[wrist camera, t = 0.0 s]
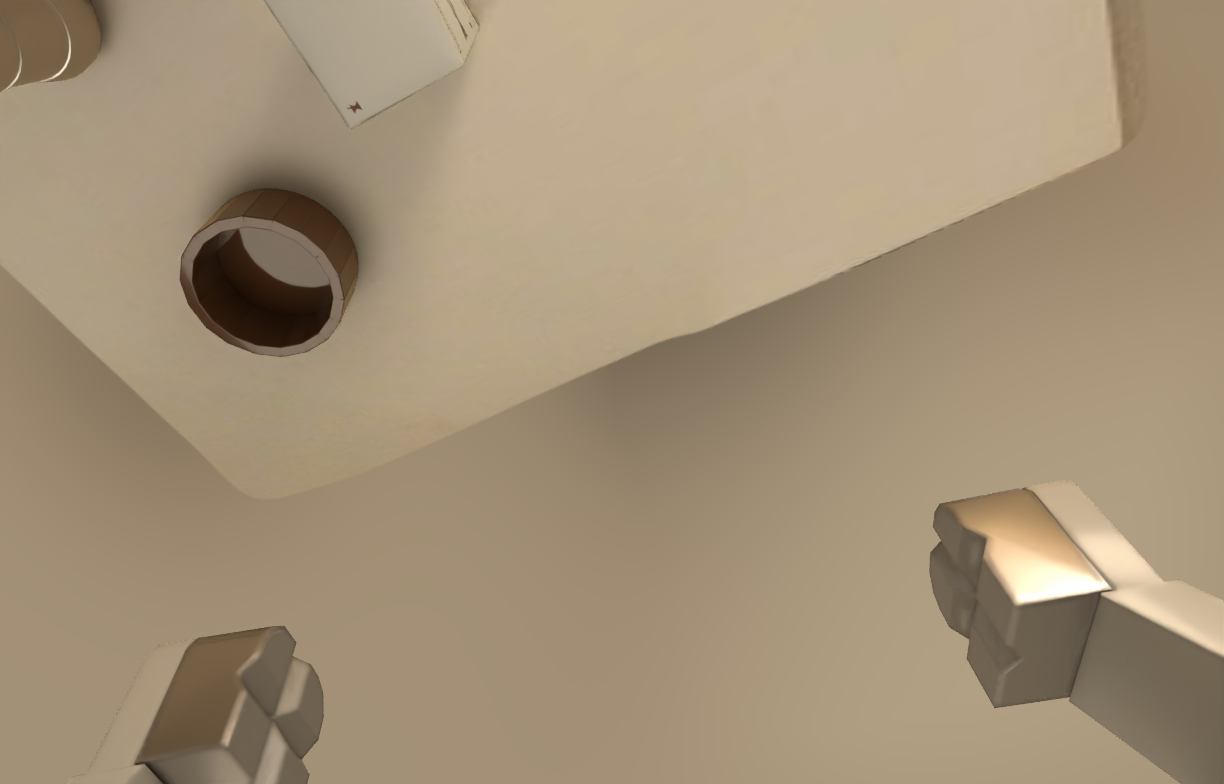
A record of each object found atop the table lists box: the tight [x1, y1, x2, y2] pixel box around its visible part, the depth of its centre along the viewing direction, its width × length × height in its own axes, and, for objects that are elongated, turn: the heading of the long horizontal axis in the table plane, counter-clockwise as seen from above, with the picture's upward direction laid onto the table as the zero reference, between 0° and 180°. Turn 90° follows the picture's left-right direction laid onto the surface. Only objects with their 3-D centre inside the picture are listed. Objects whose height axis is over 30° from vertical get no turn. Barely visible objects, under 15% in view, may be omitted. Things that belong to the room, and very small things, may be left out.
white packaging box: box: [263, 0, 479, 129], centre depth 43 cm, size 7×7×13 cm
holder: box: [180, 189, 358, 357], centre depth 54 cm, size 11×11×6 cm
